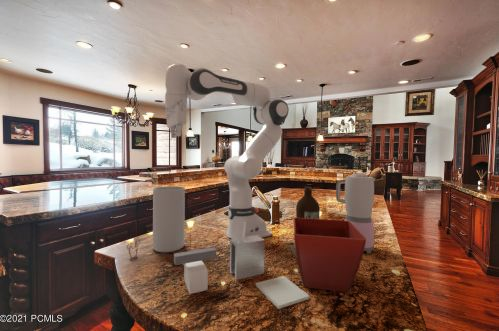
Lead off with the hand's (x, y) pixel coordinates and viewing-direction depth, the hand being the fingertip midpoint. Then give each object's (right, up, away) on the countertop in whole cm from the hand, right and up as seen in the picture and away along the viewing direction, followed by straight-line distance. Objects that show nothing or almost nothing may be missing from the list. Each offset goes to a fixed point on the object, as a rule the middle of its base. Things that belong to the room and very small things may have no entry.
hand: (175, 137), depth 98 cm
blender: (+76, -48, +3) cm, 90 cm away
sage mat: (+40, -48, -32) cm, 70 cm away
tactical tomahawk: (+48, -48, -4) cm, 68 cm away
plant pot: (+54, -48, -25) cm, 77 cm away
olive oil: (+58, -47, +10) cm, 75 cm away
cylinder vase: (-3, -47, 0) cm, 47 cm away
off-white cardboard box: (+15, -48, -29) cm, 58 cm away
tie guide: (+30, -47, -22) cm, 60 cm away
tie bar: (+15, -40, -29) cm, 52 cm away
